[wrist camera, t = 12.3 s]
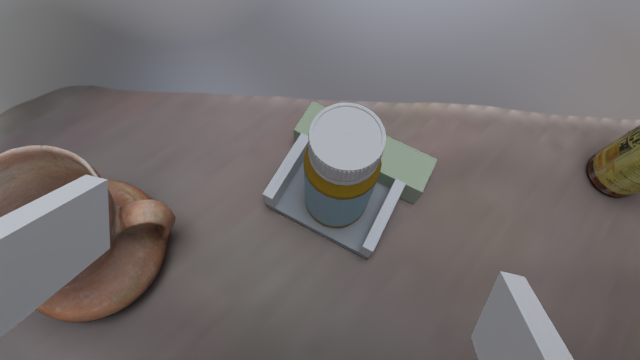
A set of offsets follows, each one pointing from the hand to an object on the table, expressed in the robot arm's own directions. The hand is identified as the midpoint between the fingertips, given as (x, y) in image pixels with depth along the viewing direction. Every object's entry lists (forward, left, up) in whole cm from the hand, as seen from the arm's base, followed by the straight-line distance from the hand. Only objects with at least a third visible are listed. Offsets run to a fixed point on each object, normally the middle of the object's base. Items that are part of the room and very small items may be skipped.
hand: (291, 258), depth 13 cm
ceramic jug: (+21, +4, -30) cm, 37 cm away
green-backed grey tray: (+2, -14, -30) cm, 33 cm away
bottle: (+3, -12, -29) cm, 31 cm away
